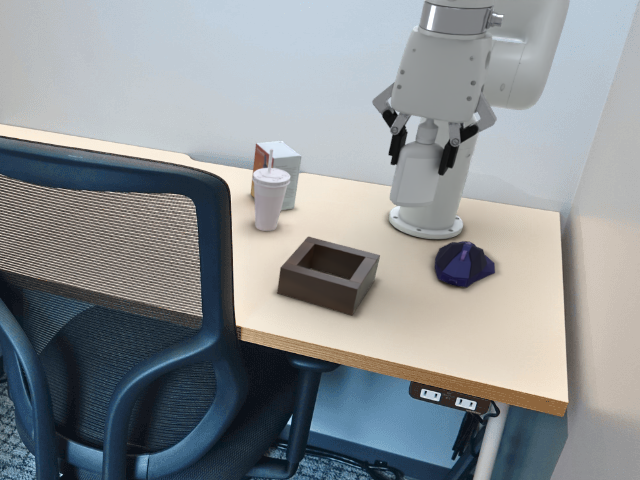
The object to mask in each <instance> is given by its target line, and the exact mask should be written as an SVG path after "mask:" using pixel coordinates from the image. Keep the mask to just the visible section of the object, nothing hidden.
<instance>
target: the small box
mask: <svg viewBox="0 0 640 480" xmlns="http://www.w3.org/2000/svg"><path fill="white" fill-rule="evenodd" d="M270 149H273V156H272V165H271V168H276V169H280V170H283V171H286V172H287V173H288V174H289V175H290V183H289V184H288V185H287V188H286V192H285V196H284V200H283V204H282V207H281V211H286V210H292V209H295V204H296V198H297V197H296V196H297V191H298V190H297V189H298V185H299V184H298V183H299V178H300V169H301V163H302V158H303V157H302V155H301V154H300V153H299V152H297V151H295V150H294V149H293V148H292V147H291V146H289V145H288V144H286V142H285V141H284V140H274V141H264V142H256V143H255V147H254V156H253V157H254V158H253V166H252V167H253V168H252V176H251V184H250V185H251V186H250V196H251V197H253V198H254V199H255V195H254V182H253V180H252V178H253V173H254V172H255V171H256V170H258V169H262V168H268V162H269V153H270Z"/></svg>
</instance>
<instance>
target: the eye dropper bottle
mask: <svg viewBox="0 0 640 480" xmlns="http://www.w3.org/2000/svg"><path fill="white" fill-rule="evenodd" d="M419 123H420V122H419ZM419 123H418V126H417V130H416V135H415V140H414V141H411V142H408V143H405V145H404V146H403V147H402V148H401V149H400V152H399V156H398V161H397V165H395V170H394V174H393V178H392V183H391V188H390V192H389V200H390V202H391V203H392V204H393V205H394V206H395V207H396V206H401V207H424V206H428V205H431V204H432V203H433V201H434V197H435V193H436V189H437V185H438V181H439V177H440V175H439V174H438V170H439V166H440V162H441V158H442V154H443V150H444V149H443V148H442V147H441V146H440V145H439V144H437V143H435V140H436V136H437V132H438V128H439V127H438V126H437V125H436V124H434V119H429V118H427V119H426V121H425V122H424V123H420V124H419Z"/></svg>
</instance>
